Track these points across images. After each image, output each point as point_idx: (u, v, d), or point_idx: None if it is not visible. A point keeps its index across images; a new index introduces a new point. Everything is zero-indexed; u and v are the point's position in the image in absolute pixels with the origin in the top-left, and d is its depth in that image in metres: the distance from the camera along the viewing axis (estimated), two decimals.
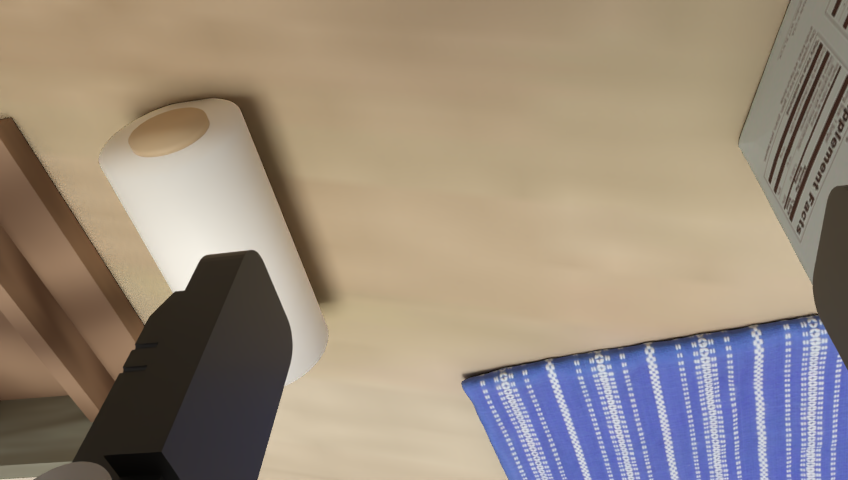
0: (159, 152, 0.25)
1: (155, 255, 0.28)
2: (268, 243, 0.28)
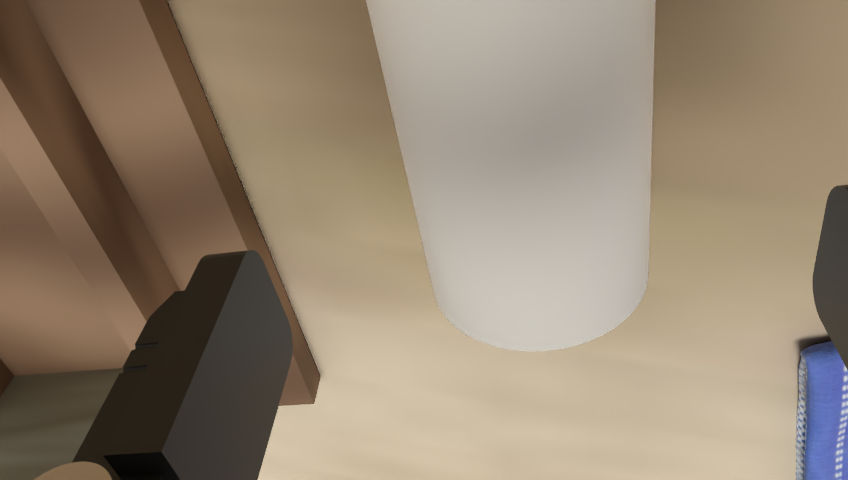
0: None
1: (421, 12, 0.12)
2: None
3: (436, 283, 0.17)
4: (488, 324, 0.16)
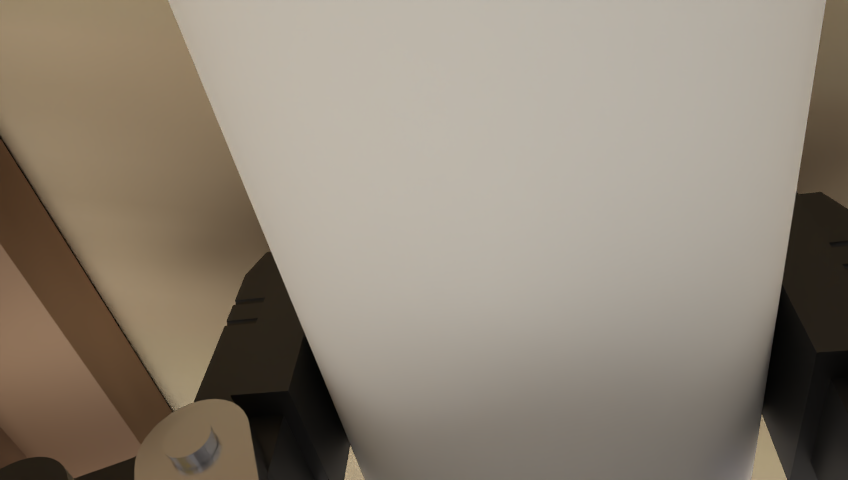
0: None
1: (363, 366, 0.06)
2: (778, 301, 0.07)
3: None
4: None
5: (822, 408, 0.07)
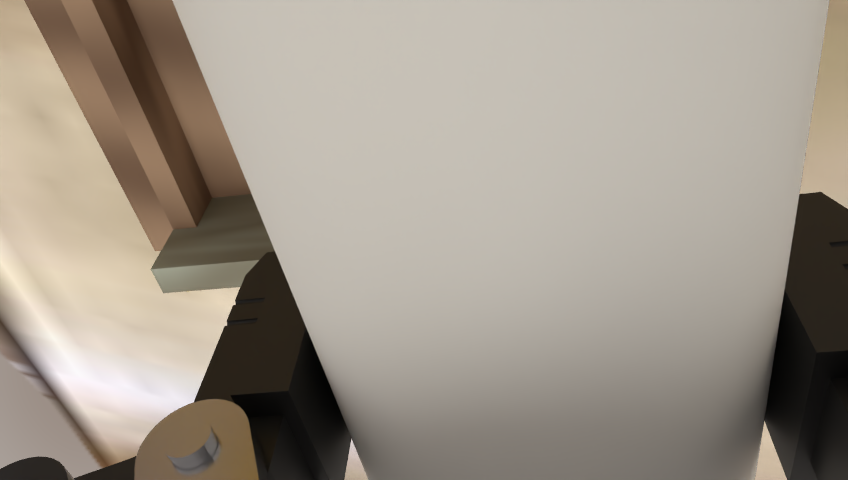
0: None
1: (368, 367, 0.06)
2: (782, 301, 0.07)
3: None
4: None
5: (822, 408, 0.07)
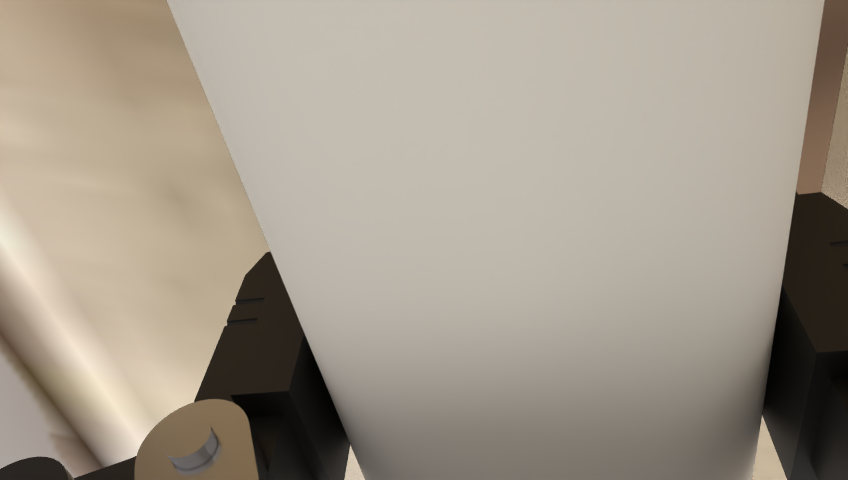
0: None
1: (365, 372, 0.06)
2: (777, 306, 0.07)
3: None
4: None
5: (822, 408, 0.07)
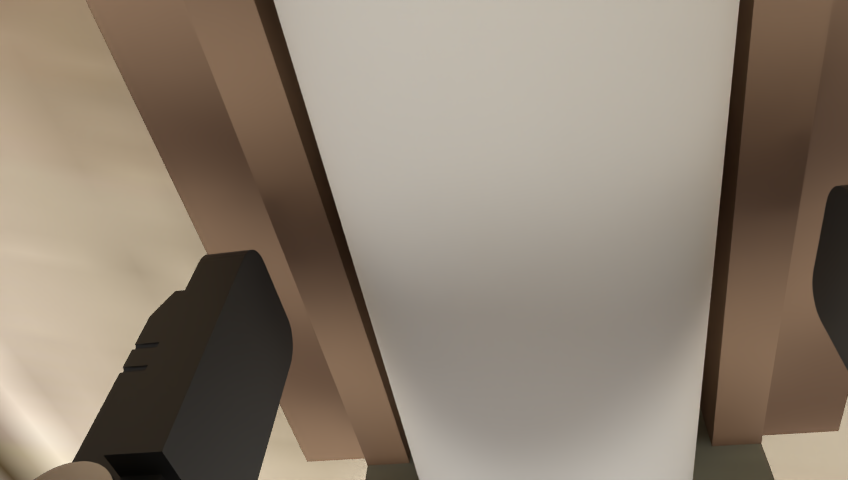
0: None
1: (389, 218, 0.08)
2: (720, 187, 0.09)
3: None
4: None
5: None
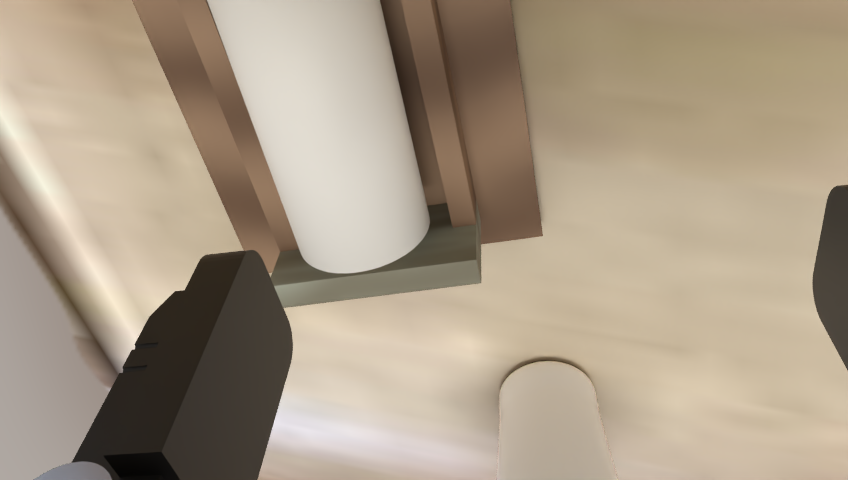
0: None
1: (248, 76, 0.23)
2: (380, 68, 0.24)
3: (293, 233, 0.28)
4: (317, 256, 0.27)
5: None
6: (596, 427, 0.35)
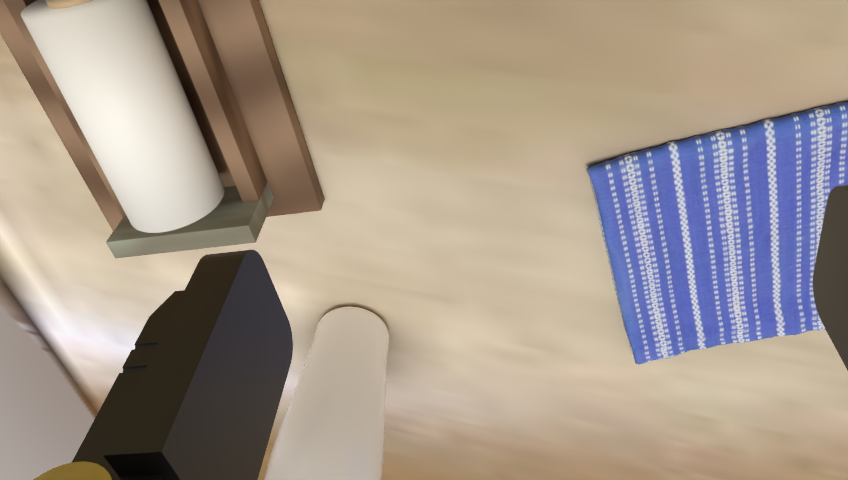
0: (67, 3, 0.32)
1: (67, 97, 0.34)
2: (162, 92, 0.35)
3: None
4: (134, 220, 0.38)
5: None
6: (372, 354, 0.47)
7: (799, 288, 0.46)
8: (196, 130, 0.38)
